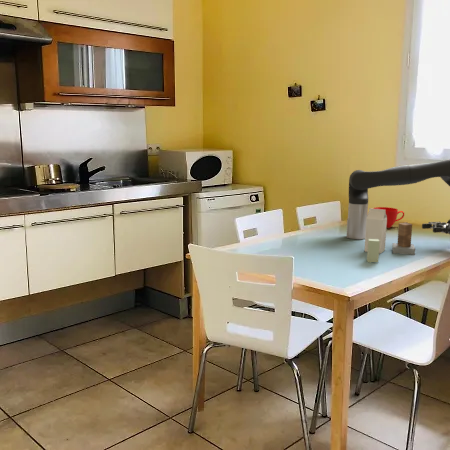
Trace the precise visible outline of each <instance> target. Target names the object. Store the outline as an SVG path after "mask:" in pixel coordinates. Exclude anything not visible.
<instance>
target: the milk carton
mask: <svg viewBox="0 0 450 450" xmlns="http://www.w3.org/2000/svg"><path fill="white" fill-rule="evenodd" d="M385 211H386V210H383V209H373V208H372V207H371V208H370V207H368V214H367V218H366V234H365V239H364V252H366V253H367V250H368V239H378V240H379V241H380V242H379V254H382V253H383V252H384V251H386V240H387V239H386V238H387V228H386V226H387V216H386V212H385Z"/></svg>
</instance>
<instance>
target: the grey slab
mask: <svg viewBox="0 0 450 450" xmlns="http://www.w3.org/2000/svg"><path fill="white" fill-rule="evenodd" d="M397 244H398V242H397V243H395V242H393V243H392V244H391V245H392V246H391V249H392V254H398V253H399V254H402V255H413V256H414V255H416V248H415V245H414V244H413V243H411V247H401V246H398V245H397Z"/></svg>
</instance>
